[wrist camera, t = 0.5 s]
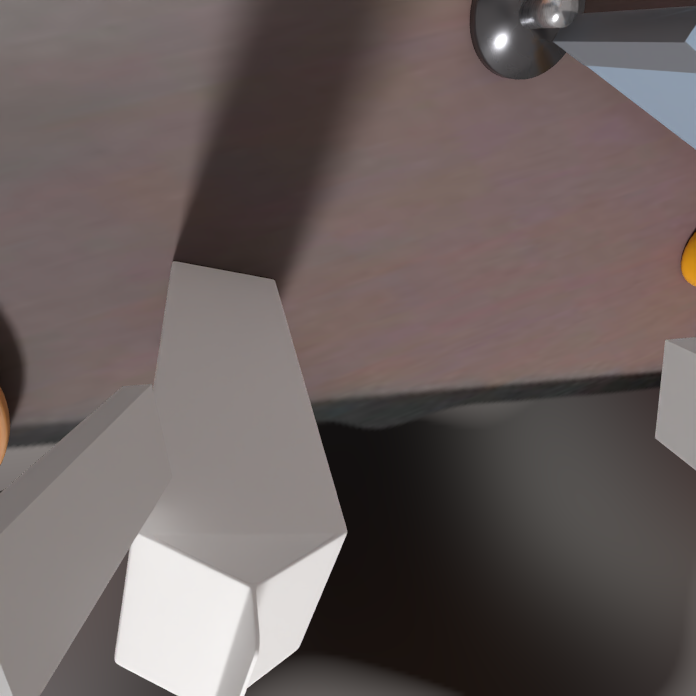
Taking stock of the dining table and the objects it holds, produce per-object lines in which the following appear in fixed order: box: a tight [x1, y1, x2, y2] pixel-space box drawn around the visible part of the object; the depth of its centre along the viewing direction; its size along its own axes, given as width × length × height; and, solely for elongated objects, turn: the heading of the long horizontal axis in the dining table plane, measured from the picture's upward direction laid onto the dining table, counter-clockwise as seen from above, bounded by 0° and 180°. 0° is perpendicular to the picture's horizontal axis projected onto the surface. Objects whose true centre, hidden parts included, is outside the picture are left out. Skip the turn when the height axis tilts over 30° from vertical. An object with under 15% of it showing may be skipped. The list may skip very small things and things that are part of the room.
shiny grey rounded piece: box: [470, 0, 585, 79], centre depth 24 cm, size 6×6×4 cm
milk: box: [115, 261, 347, 696], centre depth 21 cm, size 6×6×22 cm
